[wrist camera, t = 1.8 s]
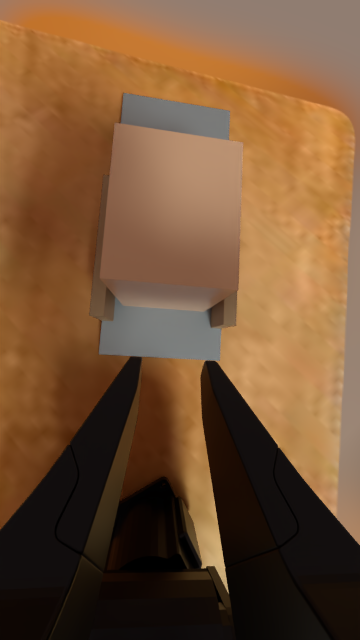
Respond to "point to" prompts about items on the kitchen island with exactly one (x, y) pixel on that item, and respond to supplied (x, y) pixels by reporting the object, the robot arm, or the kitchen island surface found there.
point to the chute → (155, 323)
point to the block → (172, 219)
